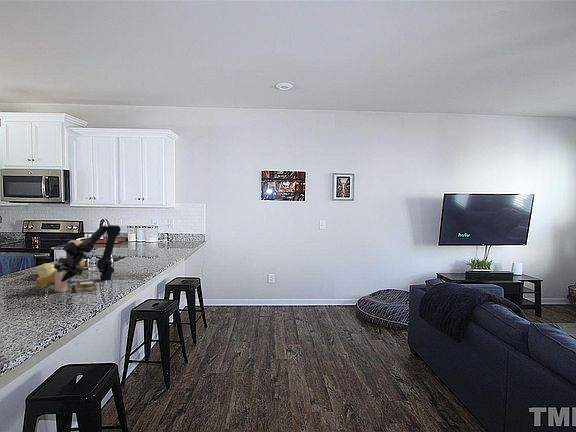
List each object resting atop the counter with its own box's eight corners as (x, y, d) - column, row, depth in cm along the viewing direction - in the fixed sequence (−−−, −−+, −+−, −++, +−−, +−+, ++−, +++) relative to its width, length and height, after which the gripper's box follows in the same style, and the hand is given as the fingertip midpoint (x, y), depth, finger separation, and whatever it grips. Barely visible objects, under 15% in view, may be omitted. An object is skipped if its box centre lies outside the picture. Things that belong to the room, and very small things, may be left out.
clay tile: (92, 284, 237) (92, 281, 236) (92, 286, 232) (92, 283, 232) (80, 285, 233) (80, 282, 233) (80, 287, 229) (80, 284, 229)
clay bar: (62, 290, 223) (61, 270, 222) (67, 291, 221) (67, 271, 221) (55, 292, 219) (55, 272, 218) (60, 292, 217) (60, 273, 216)
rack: (95, 285, 239) (95, 280, 239) (95, 293, 220) (95, 288, 220) (75, 287, 234) (75, 282, 233) (74, 295, 215) (74, 289, 215)
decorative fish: (64, 278, 249) (61, 265, 247) (68, 279, 249) (65, 265, 246) (36, 293, 229) (33, 279, 226) (41, 294, 228) (37, 279, 225)
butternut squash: (80, 275, 267) (80, 241, 266) (60, 275, 265) (60, 241, 264) (87, 271, 281) (87, 239, 280) (68, 271, 279) (68, 239, 277)
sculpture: (33, 279, 252) (33, 263, 251) (49, 275, 263) (49, 261, 263) (45, 280, 248) (45, 265, 248) (61, 277, 259) (61, 262, 259)
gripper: (56, 251, 226) (38, 272, 216) (78, 253, 219) (60, 275, 209) (68, 261, 234) (51, 282, 224) (89, 264, 227) (73, 285, 217)
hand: (58, 281), depth 218 cm, fingers closed on clay bar, 4 cm apart
